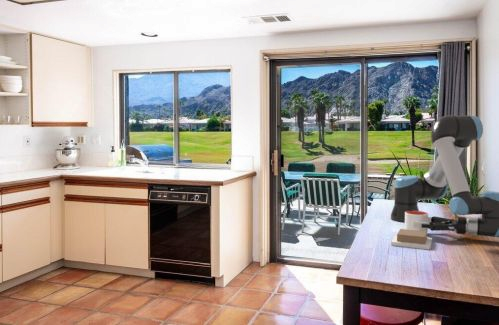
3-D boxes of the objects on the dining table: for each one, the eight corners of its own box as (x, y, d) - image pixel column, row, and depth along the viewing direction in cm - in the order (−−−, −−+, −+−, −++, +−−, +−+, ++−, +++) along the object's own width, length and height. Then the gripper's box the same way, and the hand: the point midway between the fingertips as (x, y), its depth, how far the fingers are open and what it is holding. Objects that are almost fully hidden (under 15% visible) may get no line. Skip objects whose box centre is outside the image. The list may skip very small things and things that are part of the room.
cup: (430, 233, 205) (431, 212, 204) (422, 237, 197) (423, 215, 197) (409, 230, 212) (410, 209, 211) (400, 234, 204) (401, 212, 203)
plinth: (395, 237, 198) (396, 227, 198) (432, 240, 192) (432, 230, 191) (391, 245, 185) (391, 234, 184) (429, 249, 178) (430, 238, 178)
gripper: (466, 240, 184) (412, 235, 193) (465, 228, 206) (417, 224, 215) (467, 223, 183) (412, 218, 192) (466, 212, 206) (417, 209, 215)
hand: (414, 221), depth 204 cm, fingers open, 13 cm apart
